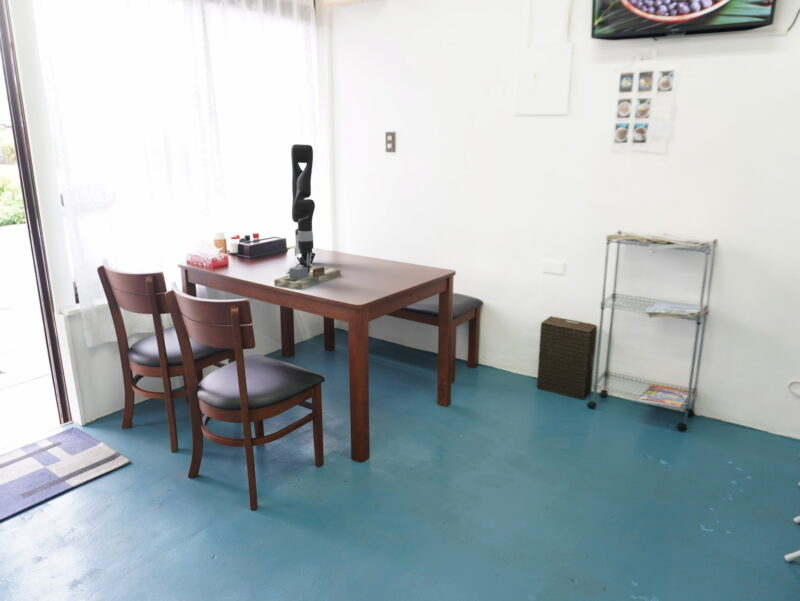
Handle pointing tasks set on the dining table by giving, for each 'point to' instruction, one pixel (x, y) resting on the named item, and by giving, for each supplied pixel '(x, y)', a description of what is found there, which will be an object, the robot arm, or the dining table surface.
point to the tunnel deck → (308, 278)
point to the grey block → (298, 272)
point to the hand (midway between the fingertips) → (307, 272)
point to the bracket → (294, 264)
